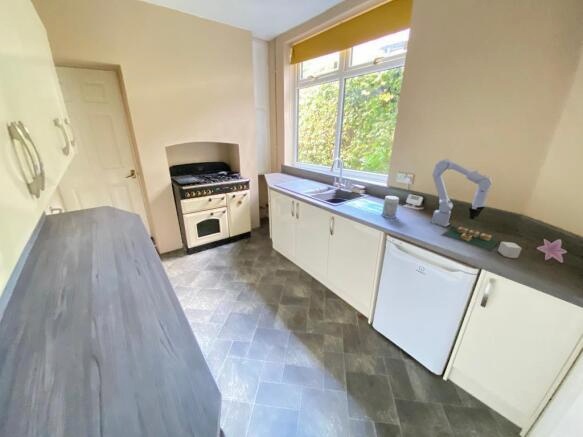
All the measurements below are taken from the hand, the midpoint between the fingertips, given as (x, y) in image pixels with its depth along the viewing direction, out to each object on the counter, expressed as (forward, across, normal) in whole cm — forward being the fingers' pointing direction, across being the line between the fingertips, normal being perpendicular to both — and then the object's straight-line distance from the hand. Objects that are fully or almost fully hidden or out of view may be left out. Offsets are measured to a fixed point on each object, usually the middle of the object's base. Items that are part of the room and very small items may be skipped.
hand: (473, 217), depth 150 cm
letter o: (+9, -17, -3) cm, 19 cm away
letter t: (+9, -7, -4) cm, 12 cm away
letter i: (+9, -7, +2) cm, 12 cm away
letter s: (+9, -7, -10) cm, 15 cm away
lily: (+10, -6, -37) cm, 39 cm away
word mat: (+9, -13, -4) cm, 17 cm away
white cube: (+10, -20, -23) cm, 32 cm away
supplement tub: (+10, -19, +46) cm, 51 cm away
